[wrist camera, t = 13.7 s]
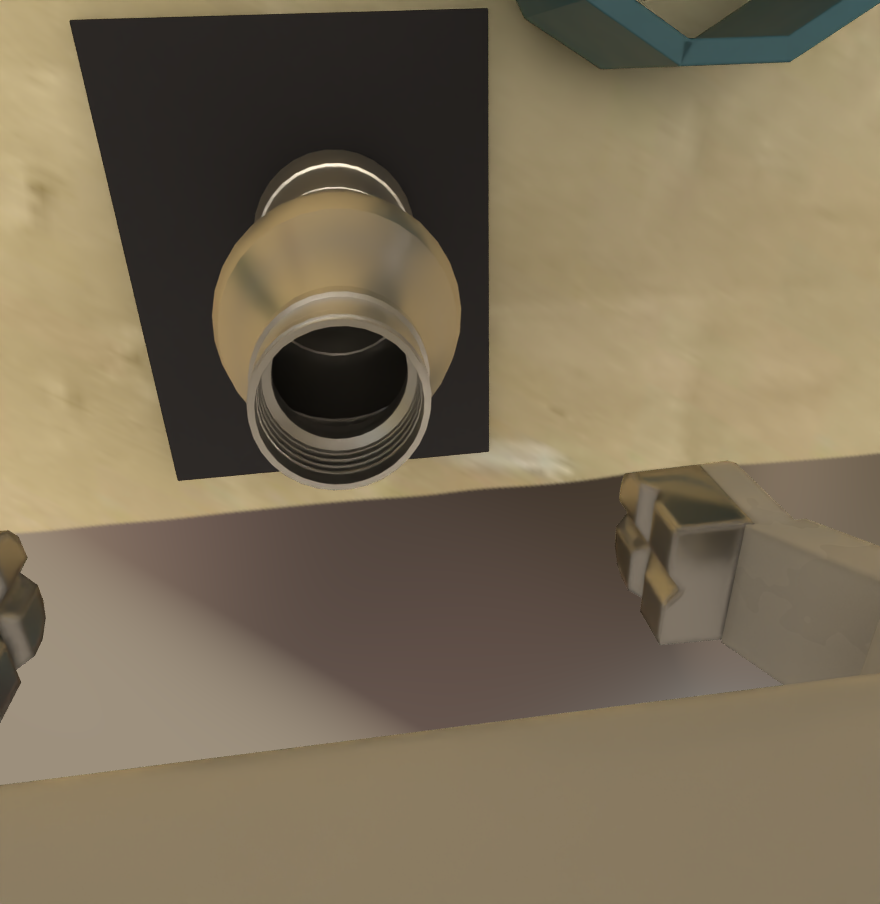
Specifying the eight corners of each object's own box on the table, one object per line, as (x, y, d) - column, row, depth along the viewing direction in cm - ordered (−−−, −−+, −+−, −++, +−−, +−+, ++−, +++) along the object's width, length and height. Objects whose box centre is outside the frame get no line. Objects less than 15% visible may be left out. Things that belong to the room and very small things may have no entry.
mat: (75, 21, 28) (68, 19, 27) (484, 9, 29) (488, 8, 28) (180, 473, 37) (177, 481, 36) (486, 445, 39) (489, 452, 38)
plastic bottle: (234, 259, 32) (113, 485, 14) (300, 111, 29) (253, 160, 12) (365, 324, 34) (403, 592, 16) (436, 191, 31) (569, 334, 14)
